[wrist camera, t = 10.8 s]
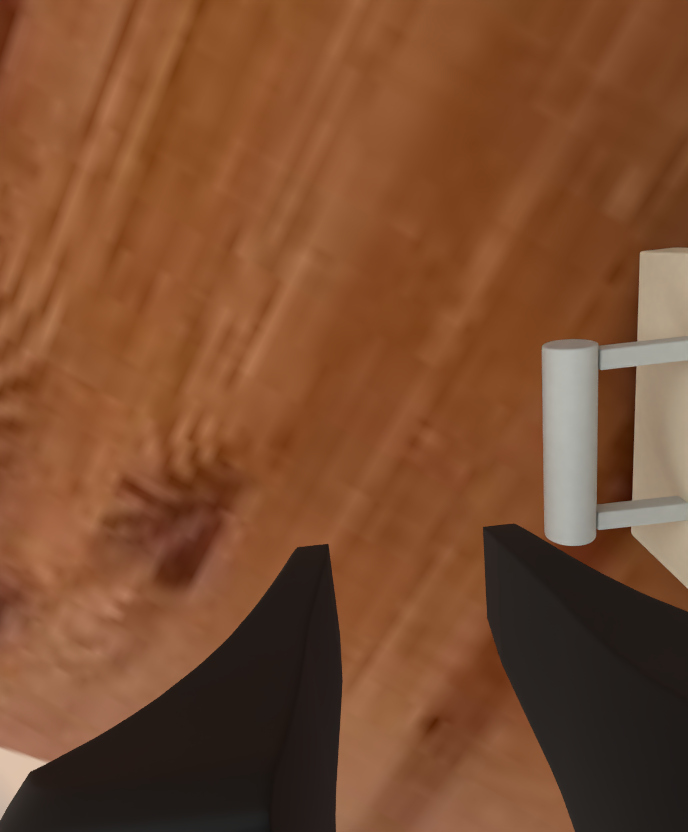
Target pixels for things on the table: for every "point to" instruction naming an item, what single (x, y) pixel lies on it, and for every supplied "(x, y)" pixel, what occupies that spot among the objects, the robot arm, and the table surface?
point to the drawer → (654, 423)
